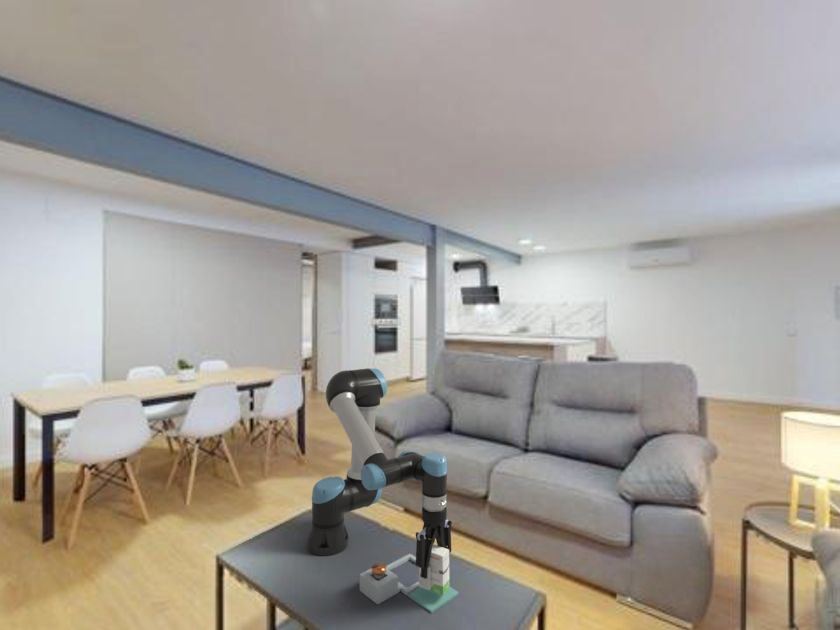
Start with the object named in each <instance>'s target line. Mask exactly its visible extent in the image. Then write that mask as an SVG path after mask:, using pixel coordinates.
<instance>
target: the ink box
mask: <svg viewBox="0 0 840 630" xmlns="http://www.w3.org/2000/svg"><path fill="white" fill-rule="evenodd" d="M429 566H430V589H429V590H430V591H433V592H435V593H438V594H440V595H443V594H444V593H445V592H446V591H447V589H448V588H449V587H451V585H450V553H449V549H446V548H443V547H440V546H438V545H437V544H435V543H434V544H433V545H432V550H431V555H430V560H429ZM418 581H419V587H422V588H425V587H424V586H422V577H421V568H420V567H418ZM425 589H427V588H425ZM427 590H428V589H427Z"/></svg>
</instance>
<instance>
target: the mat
mask: <svg viewBox="0 0 840 630" xmlns="http://www.w3.org/2000/svg"><path fill="white" fill-rule="evenodd" d="M407 596H408V598H409V599H411V600H412V601H414V602H415V603H417V604H418V605H419V606H421V607H422V608H424V609H425V610H427V611H428V612H429V613H431V614H433V613H434V612H435V611H437V610H438V609H440V608H442V607H443V606H445V605H446V604H447V603H449V602H451V601H452V600H453V599H455V598H456V597H458V596H460V592H459V591H458V590H456V589H454V588H453V587H451V586H450V587H449V588H448V589H447V591H446V592H445V593H444V594H443V595H440V594H438V593H435V592H433V591H430V590H427V589H425V588H422V587H420V588H418V589H417V590H415V591H413V592H412V593H410V594H408V595H407Z"/></svg>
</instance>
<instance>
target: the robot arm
mask: <svg viewBox="0 0 840 630" xmlns="http://www.w3.org/2000/svg"><path fill="white" fill-rule="evenodd" d="M387 392H388V384H387V379H386V376H384V374H383V372H382V371H381V370H380V369H378V368H368V367H367V368H361V369H353V370H352V369H351V370H342V371H338V372H337V373H335V374H333V376H332V377H331V378H330V379H329V380H328V383H327V385H326V389H325V399H326V403H327V406H328V407H329V410H330V411H331V412H332V413H335V414H336V416H337V418H338V420H339V422H340V424H341V426H342V428H343V430H344V432H345V434H346V436H347V438H348V439H349V442H350V443H351V460H350V468H349V469H347V471H346V478H345V479H344V478H343V477H341V476H328V477H325V478H323V479H320V480H319V481H317V482H316V483H315V484H314V485H313V487H312V494H311V528H310V530H309V532H308V533H309V534H308V537H307V541H306V549H307V551H308V552H310V553H311V554H313V555H317V556H321V557H322V556H324V557H325V556H331V555H336V554H339V553H341V552H343V551H344V550H346V549H347V548H348V546H349V543H350V541H349V540H350V539H349V538H350V537H349V533H348V530H347V527H346V524H345V513H349V512H352V511H356V510H359V509H362V508H366V507H367V508H368V507H370V506H372V505H374V504H376V503H377V502H379V500H380V498H381V496H382V493H383V489H384V488H386V487H389V486H393V485H395V484H396V485H397V484H400V483H405V482H408V481H412V480H414V481H416V482H419V483H421V486H422V487H421V506H422V507H421V519H422V522H423V526H422V530H421V531H420V532H418V531H417V532H415V539H416V547H415V548H416V550H415V551H416V552H415V557H416V563H415V566H417V567H418V568H419V567H420V568H421V577H422V586H424V587H425V588H427V589H428V590H429V589H430V566H429V560H430V555H431V550H432V545H433V544H434V545H435V542H436V545H437V546H440V547H443V548H446V549H449V554H450V553H452V530H451V527H452V524H453V522H452V521H451V520H449V519H448V518H447V515H448V514H447V513H448V512H447V488H448V487H447V486H448V485H447V483H448V482H447V481H448V479H447V478H448V477H447V476H448V468H447V466H448V465H447V458H446V456H445V455H443V454H441V453H435V452H434V453H433V452H432V453H426V454H424V455H421V454H420V453H418V452H414V451H411V450H403V451H402V453H400V454H399V455H398V456H397V457H393V458H389V459H388V457H387V456H386V455H385V453H384V451H383V449H382V447H381V446H380V444H379V442H378V440H377V439H376V436H375V435H376V434H375V433H376V416H377V415H376V412H377V410H376V409H378V407H379V406H380V405H381V399H383V398H384V397H385V396H386V394H387Z"/></svg>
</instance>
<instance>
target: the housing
mask: <svg viewBox="0 0 840 630" xmlns="http://www.w3.org/2000/svg"><path fill="white" fill-rule="evenodd" d="M409 561H411V562H412V563H414V564H416V555H413V554H412V553H409V554H406V555H404V556H402V557H400V558H399V559H397V560H395V561H393V562H392V563H390V564H387V565H386V572H385V573H384V578H383V579H381V580H379V581H377V580H376V579H374V574H373V573H372V567H371V568H369V569H367V570H365V571H364V572H361V573H360V574H359V591H360V592H361V593H362V594H364V595H365V596H366V597H368V599H370V600H371V601H372V602H373V603H375V604H376V605H380V604H382V603H383V602H385V601H386V600H388V599H389V598H392V597H393V596H395V595H396V594H398V593H400V592H401V593H403V594H404V595H405V596H408V594H410V593H412V592H413V591H415V590H417V589H418V588H420V587H419V580H418V581H416V582H415V583H413V584H412V585H410V586H409V587H406V586H405V585H403V583H401V582H399V576H398V575H397V574H396V573H394V572H392V571H391V570H394V569H395V568H397V567H399V566H401V565H402V564H404V563H406V562H409Z"/></svg>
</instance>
